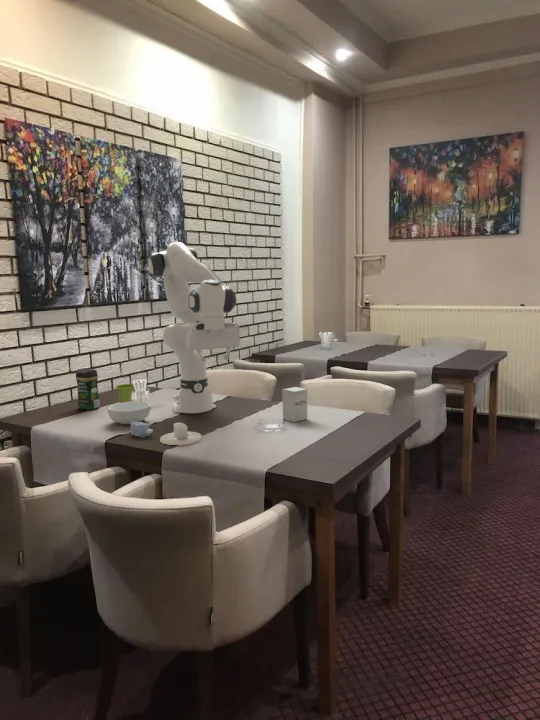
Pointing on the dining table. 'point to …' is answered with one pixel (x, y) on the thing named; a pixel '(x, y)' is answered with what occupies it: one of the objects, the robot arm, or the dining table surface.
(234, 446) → the dining table surface
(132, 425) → the blue connector
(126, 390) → the plant pot
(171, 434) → the saucer
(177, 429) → the grey connector
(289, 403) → the supplement box
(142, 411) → the cereal bowl
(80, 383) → the coffee jar
